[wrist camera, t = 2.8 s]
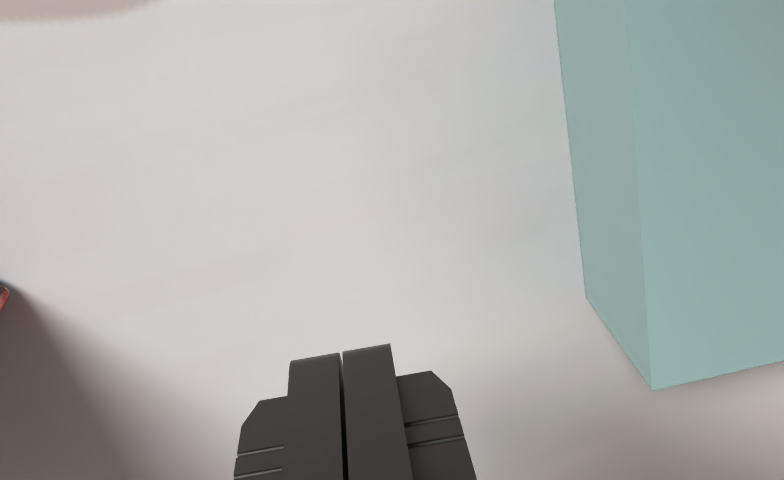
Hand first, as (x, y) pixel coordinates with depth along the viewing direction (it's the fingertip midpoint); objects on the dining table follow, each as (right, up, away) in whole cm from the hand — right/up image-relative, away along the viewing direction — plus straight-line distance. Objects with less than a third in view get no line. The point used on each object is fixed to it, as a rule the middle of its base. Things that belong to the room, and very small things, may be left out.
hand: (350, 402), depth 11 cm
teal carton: (+9, +6, +9) cm, 14 cm away
